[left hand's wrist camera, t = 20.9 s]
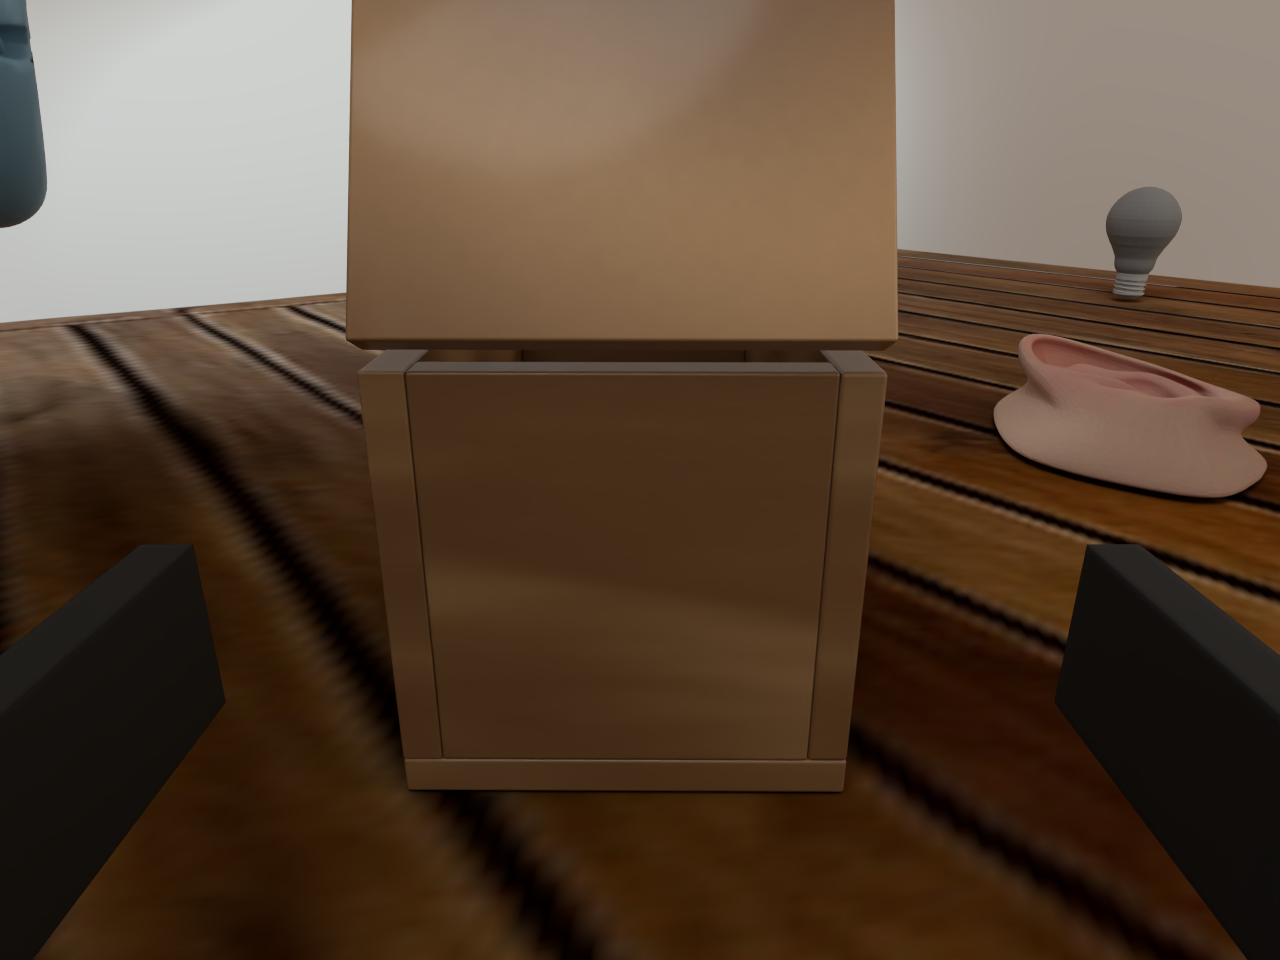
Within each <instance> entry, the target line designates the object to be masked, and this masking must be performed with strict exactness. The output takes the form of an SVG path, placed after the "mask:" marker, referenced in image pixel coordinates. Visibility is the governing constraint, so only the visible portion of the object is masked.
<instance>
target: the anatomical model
mask: <svg viewBox="0 0 1280 960" xmlns="http://www.w3.org/2000/svg"><path fill="white" fill-rule="evenodd" d="M1018 356H1019V361H1020V364H1021V366H1022V368H1023V370H1024V372H1025V374H1026V375H1027V378H1028V381H1027V383H1026V384H1025V385H1024V386H1022V387H1021V388H1019V389H1017V390H1016V391H1014V392H1012V393H1010V394H1009V395H1007V396H1006V397H1004V398H1003V399H1002V400H1001V401H1000V402H998V404H997V405H996V406H995V409H994V421H995V425H996V427H997V429H998V431H999V433H1000V435H1001V437H1002V438H1003V440H1004V441H1005V442H1006V443H1007V444H1008V445H1009V446H1010V447H1011V448H1012V449H1013V450H1015V451H1016V452H1017V453H1019V454H1020V455H1022V456H1024V457H1026V458H1028V459H1030V460H1033V461H1035V462H1038V463H1041V464H1043V465H1046V466H1049V467H1053V468H1056V469H1059V470H1063V471H1066V472H1069V473H1073V474H1077V475H1081V476H1085V477H1089V478H1093V479H1098V480H1102V481H1107V482H1111V483H1116V484H1120V485H1125V486H1130V487H1135V488H1140V489H1145V490H1150V491H1156V492H1162V493H1168V494H1174V495H1181V496H1189V497H1198V498H1220V497H1226V496H1231V495H1234V494H1236V493H1239V492H1241V491H1243V490H1245V489H1247V488H1248V487H1250V486H1251V485H1253V484H1254V483H1256V482H1257V481H1258V480H1260V479H1261V478H1262V476H1263V474H1264V472H1265V471H1266V468H1267V463H1266V461H1265V459H1264V458H1263V457H1262V456H1261V455H1260V454H1259V453H1258V452H1257V451H1256V450H1255V449H1254V448H1252V447H1251V446H1250V445H1249V444H1248V443H1247V442H1246V441H1245V440H1244V439H1243V438H1242V436H1241V433H1242V431H1243V430H1244V429H1245V428H1246V427H1248V426H1249V425H1250V424H1252V423H1253V422H1255V420H1256V419H1257V418H1258V416H1259V414H1260V405H1259V404H1258V403H1257V402H1256V401H1255V400H1253V399H1251V398H1248V397H1246V396H1243V395H1241V394H1238V393H1235V392H1232V391H1229V390H1226V389H1223V388H1220V387H1217V386H1214V385H1211V384H1208V383H1205V382H1202V381H1200V380H1197V379H1194V378H1191V377H1189V376H1186V375H1183V374H1180V373H1178V372H1175V371H1172V370H1169V369H1166V368H1163V367H1160V366H1157V365H1154V364H1151V363H1148V362H1144V361H1141V360H1138V359H1134V358H1131V357H1127V356H1124V355H1121V354H1117V353H1114V352H1111V351H1107V350H1104V349H1101V348H1097V347H1094V346H1091V345H1087V344H1084V343H1080V342H1077V341H1073V340H1069V339H1065V338H1061V337H1056V336H1051V335H1044V334H1032V335H1028V336H1026V337H1024V338H1023V339H1022V340H1021V341H1020V344H1019V347H1018Z"/></svg>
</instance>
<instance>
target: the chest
mask: <svg viewBox="0 0 1280 960" xmlns="http://www.w3.org/2000/svg"><path fill="white" fill-rule="evenodd" d="M357 377H358V385H359V393H360V402H361V410H362V418H363V426H364V435H365V443H366V451H367V459H368V468H369V476H370V484H371V492H372V501H373V509H374V517H375V525H376V534H377V542H378V550H379V558H380V567H381V575H382V583H383V591H384V600H385V608H386V616H387V624H388V633H389V641H390V649H391V657H392V666H393V674H394V682H395V690H396V699H397V707H398V715H399V723H400V732H401V740H402V748H403V756H404V758H405V760H404V762H405V770H406V778H407V786H408V789H410V790H543V791H758V792H841V791H843V788H844V779H845V769H846V760H845V758H846V756H847V749H848V739H849V730H850V721H851V711H852V702H853V693H854V684H855V674H856V665H857V656H858V646H859V637H860V628H861V618H862V609H863V600H864V590H865V581H866V572H867V562H868V553H869V544H870V534H871V525H872V516H873V506H874V497H875V488H876V479H877V469H878V460H879V451H880V441H881V432H882V423H883V413H884V404H885V395H886V385H887V374H886V372H885V371H884V370H883V369H881V368H880V367H879V366H878V365H877V364H876V363H875V362H874V361H873V360H872V359H871V358H870V357H868V356H867V355H866V354H865V353H864V352H863V351H821V350H386V351H384V352H383V353H382V354H380V355H379V356H378V357H376V358H375V359H374V360H373V361H371V362H370V363H369V364H367V365H366V366H365V367H363V368H362V369H361V370H360V371H358V373H357Z"/></svg>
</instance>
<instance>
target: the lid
mask: <svg viewBox="0 0 1280 960" xmlns="http://www.w3.org/2000/svg"><path fill="white" fill-rule="evenodd" d="M349 134H350V135H349V188H348V241H347V295H346V340H347V341H349V342H350V343H352V344H354V345H355V346H357V347H359V348H360V349H363V350H821V351H883V350H885V349H887V348H888V347H890V346H891V345H893V344H894V343H895V342H897V340H898V282H897V191H896V190H897V189H896V96H895V3H894V0H352V26H351V80H350V133H349Z"/></svg>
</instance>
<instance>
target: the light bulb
mask: <svg viewBox="0 0 1280 960" xmlns="http://www.w3.org/2000/svg"><path fill="white" fill-rule="evenodd" d="M1181 219H1182V214H1181V209H1180V206H1179V204H1178V202H1177V201H1176V199H1175V198H1174V197H1173V196H1172V195H1171V194H1170V193H1169V192H1167V191H1165V190H1163V189H1159V188H1155V187H1143V188H1139V189H1135V190H1133V191H1130V192H1128V193H1127V194H1125V195H1124V196H1122V197H1121V198H1120V199H1119V200H1118V201H1117V202H1116V203H1115V204H1114V205H1113V207H1112V208H1111V210H1110V212H1109V213H1108V216H1107V220H1106V232H1107V235H1108V238H1109V241H1110V243H1111V245H1112V248H1113V251H1114V254H1115V262H1114V265H1115V269H1116V278H1117V280H1115V282H1117V283H1116V284H1114V286H1115V287H1116V288H1114V289H1113V293H1114V294H1116V295H1118V296H1119V297H1120V298H1123V299H1135V298H1137V297H1139V296H1142V295H1144V292H1143V290H1145V289H1144V286H1145V285H1146V284H1144V283H1145V281H1147V278H1148V275H1149V272H1150V271H1151V270H1152V269H1153V267H1154V265H1155V262H1156V259H1157V257H1158V256H1159V255H1160V253H1161V252H1162V251H1163V250H1164V248H1165V247H1166V246H1167V245H1168V244H1169V243H1170V241H1171V240H1172V239H1173V238H1174V237H1175V235H1176V233H1177V232H1178V230H1179V227H1180V224H1181Z"/></svg>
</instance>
